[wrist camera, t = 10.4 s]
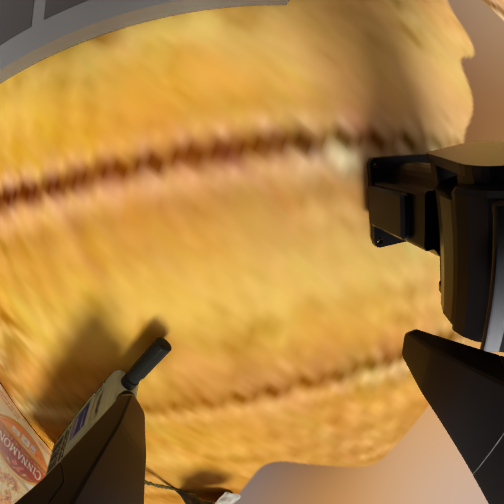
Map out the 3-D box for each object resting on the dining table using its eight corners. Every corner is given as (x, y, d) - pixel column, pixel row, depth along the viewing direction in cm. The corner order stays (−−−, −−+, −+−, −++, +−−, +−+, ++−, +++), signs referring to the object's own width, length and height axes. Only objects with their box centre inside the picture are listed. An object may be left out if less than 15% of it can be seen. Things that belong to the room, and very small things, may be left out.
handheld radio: (51, 441, 24) (147, 320, 20) (74, 453, 25) (183, 343, 22) (39, 482, 18) (133, 382, 14) (65, 495, 19) (181, 408, 15)
